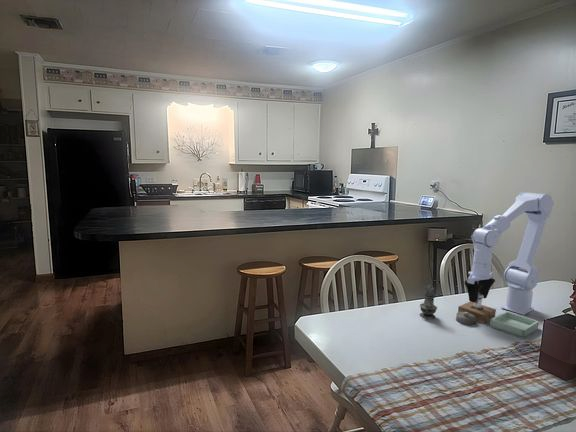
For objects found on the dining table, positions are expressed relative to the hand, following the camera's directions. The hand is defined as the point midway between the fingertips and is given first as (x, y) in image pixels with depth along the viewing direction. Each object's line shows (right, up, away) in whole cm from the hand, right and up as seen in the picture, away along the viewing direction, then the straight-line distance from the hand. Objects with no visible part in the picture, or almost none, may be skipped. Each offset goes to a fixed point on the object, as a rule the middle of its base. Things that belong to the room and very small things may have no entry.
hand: (477, 299), depth 132 cm
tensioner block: (-3, -6, -1) cm, 7 cm away
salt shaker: (-18, -6, 0) cm, 19 cm away
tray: (+8, -8, -8) cm, 14 cm away
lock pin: (0, -6, +1) cm, 6 cm away
